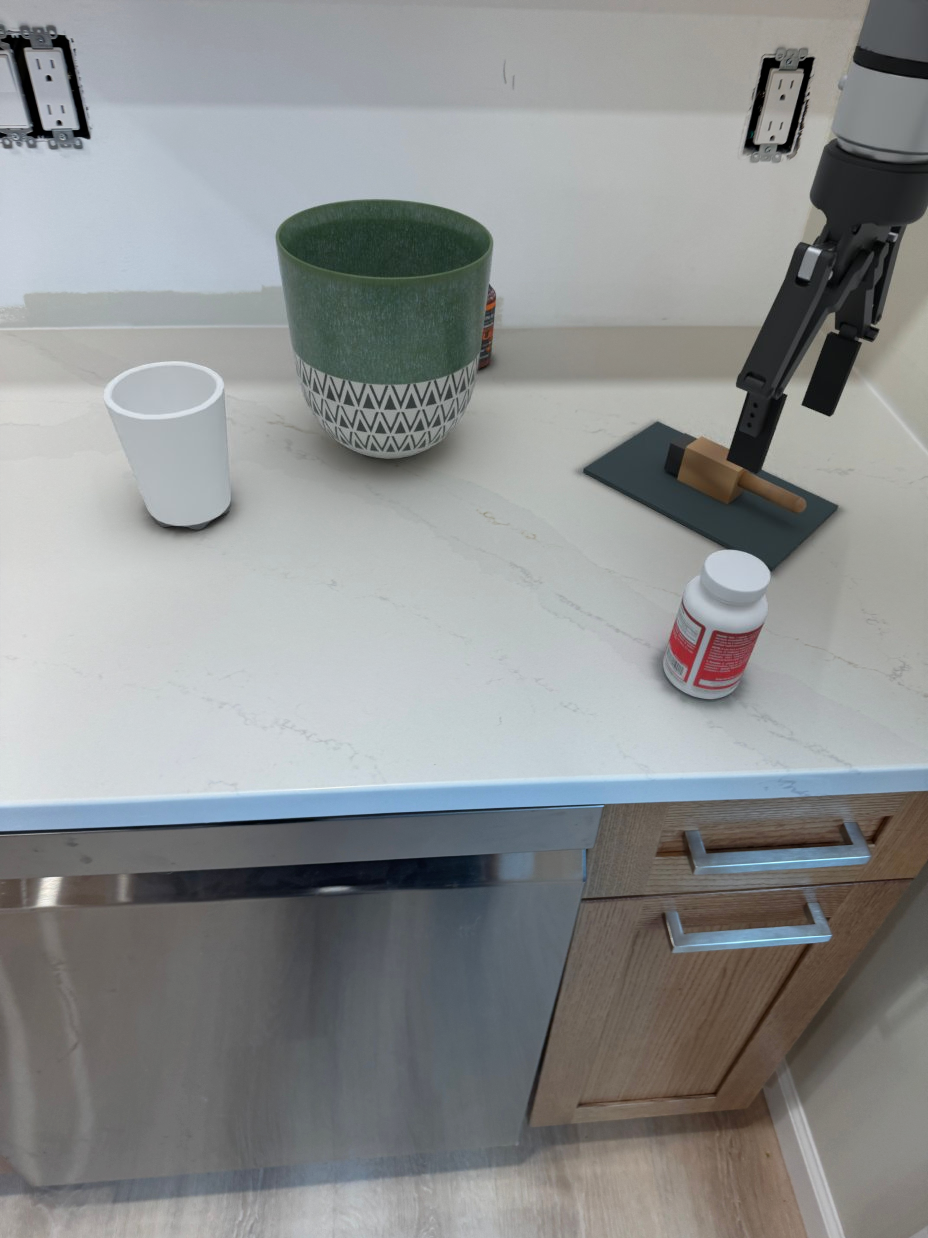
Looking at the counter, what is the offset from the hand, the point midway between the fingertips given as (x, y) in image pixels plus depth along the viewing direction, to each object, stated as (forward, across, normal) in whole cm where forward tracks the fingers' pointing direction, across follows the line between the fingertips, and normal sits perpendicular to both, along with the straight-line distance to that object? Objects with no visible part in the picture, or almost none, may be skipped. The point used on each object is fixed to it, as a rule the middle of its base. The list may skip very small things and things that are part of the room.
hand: (782, 436), depth 68 cm
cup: (+13, +33, -41) cm, 54 cm away
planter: (+13, +11, -37) cm, 40 cm away
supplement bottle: (+13, -9, -44) cm, 47 cm away
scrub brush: (+13, -8, -5) cm, 16 cm away
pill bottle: (+13, +15, +5) cm, 21 cm away
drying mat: (+13, -8, -8) cm, 17 cm away
